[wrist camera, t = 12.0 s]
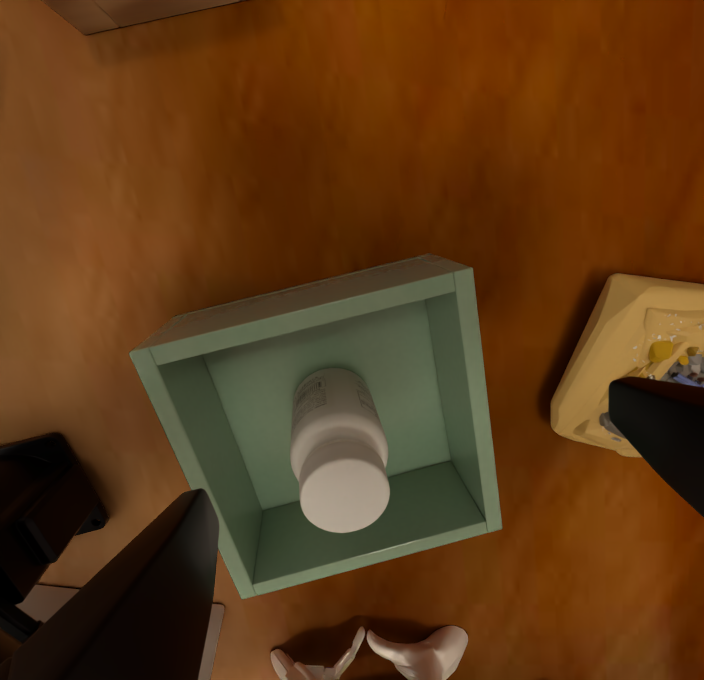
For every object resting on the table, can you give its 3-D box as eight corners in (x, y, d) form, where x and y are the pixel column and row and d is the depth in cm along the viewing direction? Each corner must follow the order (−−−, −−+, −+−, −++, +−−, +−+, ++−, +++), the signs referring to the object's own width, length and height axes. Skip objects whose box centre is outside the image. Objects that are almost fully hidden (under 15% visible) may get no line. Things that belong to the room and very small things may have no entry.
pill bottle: (289, 432, 22) (281, 543, 15) (297, 362, 21) (292, 444, 13) (364, 437, 23) (392, 545, 15) (376, 369, 21) (413, 451, 14)
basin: (255, 517, 24) (241, 600, 19) (174, 315, 20) (127, 352, 14) (461, 462, 25) (502, 529, 19) (429, 252, 20) (473, 267, 15)
